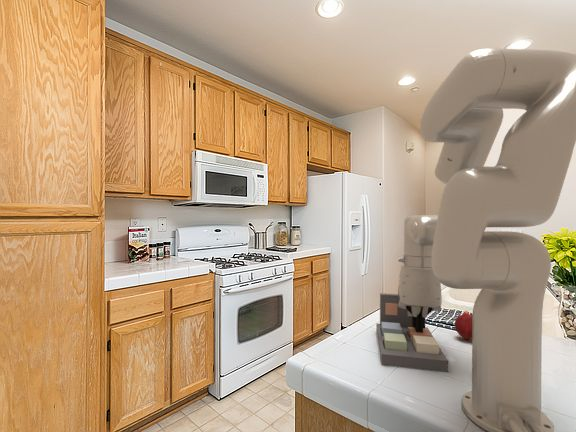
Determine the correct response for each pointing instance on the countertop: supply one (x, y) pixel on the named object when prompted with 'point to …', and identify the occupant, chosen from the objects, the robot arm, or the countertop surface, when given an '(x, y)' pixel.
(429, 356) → the keypad
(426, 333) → the terracotta key
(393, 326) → the slate key
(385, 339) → the sage key
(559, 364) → the countertop surface
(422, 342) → the cream key
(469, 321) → the red spiky ovoid
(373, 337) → the countertop surface
